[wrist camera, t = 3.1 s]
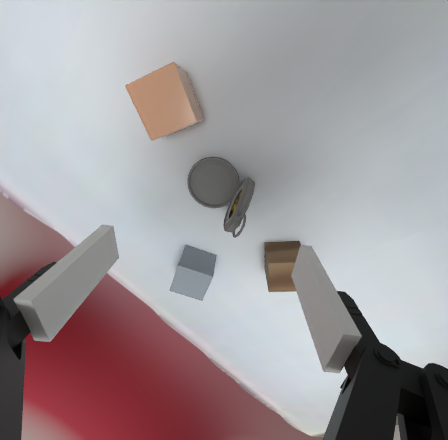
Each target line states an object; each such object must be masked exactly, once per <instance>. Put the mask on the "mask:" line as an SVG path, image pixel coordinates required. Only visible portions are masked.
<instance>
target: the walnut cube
mask: <svg viewBox="0 0 448 440" xmlns="http://www.w3.org/2000/svg"><path fill="white" fill-rule="evenodd" d="M300 245H301V244H300V242H299V241H287V242H265V273H266V279H267V285H268V291H269V292H287V291H296V288H295V285H294V282H293V279H292V276H291V275H292V272H293V268H294V265H295V262H296V258H297V255H298V252H299V248H300Z"/></svg>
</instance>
